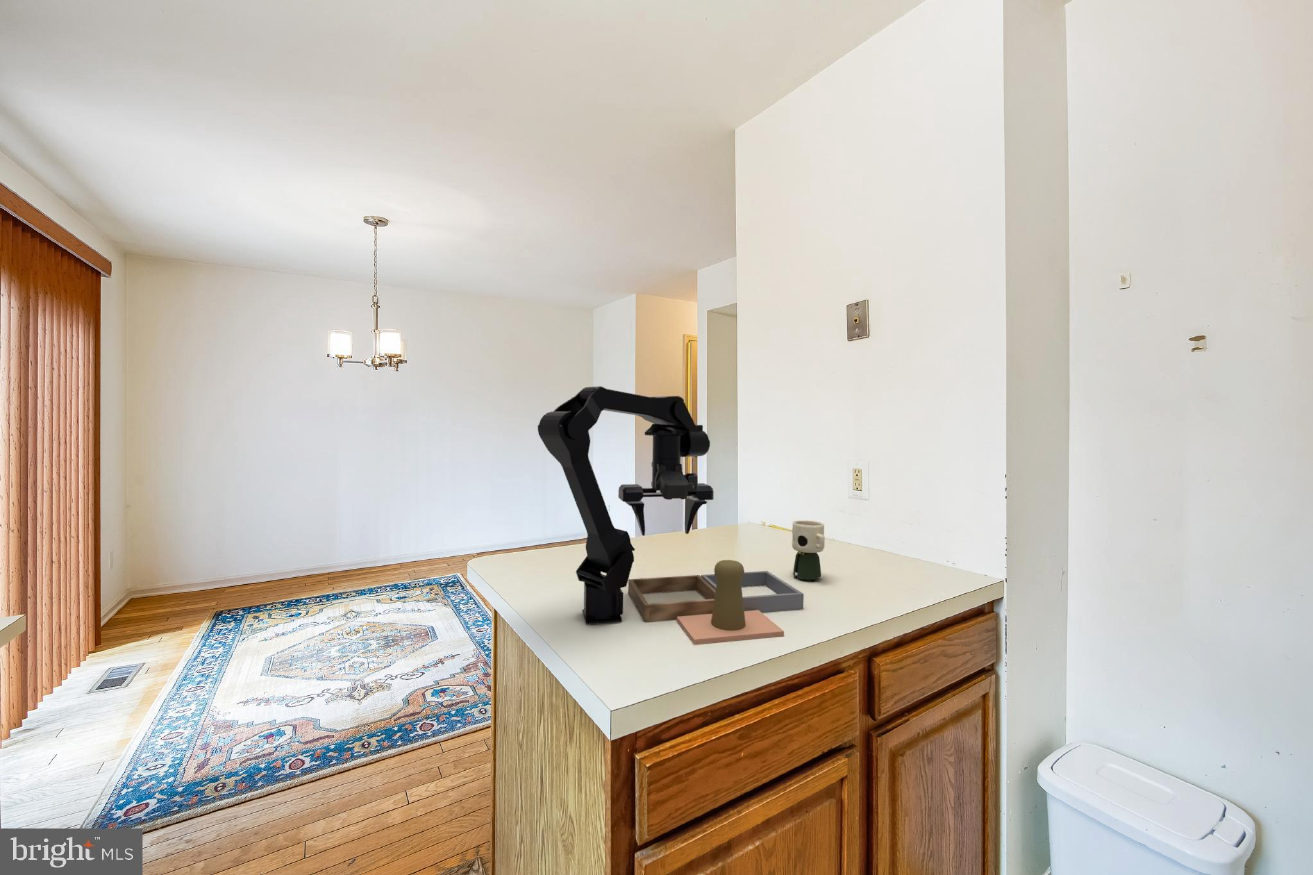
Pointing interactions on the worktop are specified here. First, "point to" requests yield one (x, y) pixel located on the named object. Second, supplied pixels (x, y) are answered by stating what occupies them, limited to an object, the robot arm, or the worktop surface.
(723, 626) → the cork
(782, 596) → the charcoal bin
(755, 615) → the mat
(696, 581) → the walnut bin
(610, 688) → the worktop surface
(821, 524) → the character mug
